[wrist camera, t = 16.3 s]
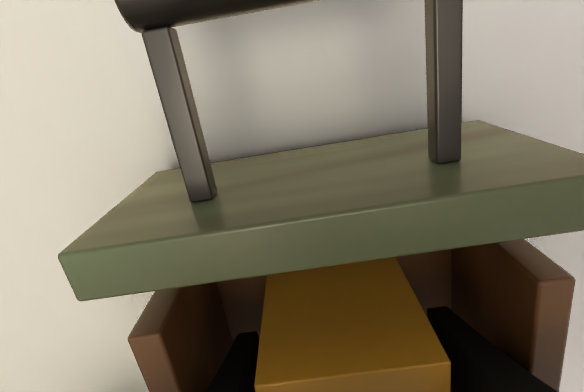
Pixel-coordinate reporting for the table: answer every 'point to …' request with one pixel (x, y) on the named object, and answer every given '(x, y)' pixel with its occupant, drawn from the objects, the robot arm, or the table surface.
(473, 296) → the drawer
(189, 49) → the table surface
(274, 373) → the block
